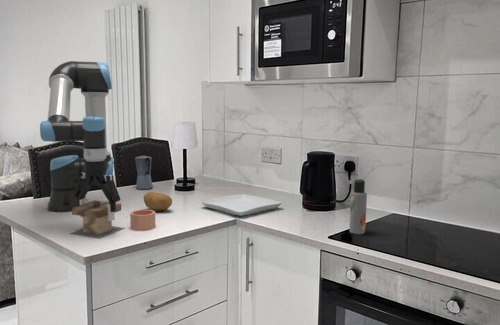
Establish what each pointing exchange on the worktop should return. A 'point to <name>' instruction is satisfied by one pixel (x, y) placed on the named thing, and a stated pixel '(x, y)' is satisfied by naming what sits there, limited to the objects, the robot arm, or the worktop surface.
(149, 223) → the bowl
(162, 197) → the potato
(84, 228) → the pedestal
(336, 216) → the worktop surface
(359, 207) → the lotion bottle
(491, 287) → the worktop surface
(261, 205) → the square plate
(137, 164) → the moka pot
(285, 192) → the worktop surface
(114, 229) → the mat
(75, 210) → the lid
